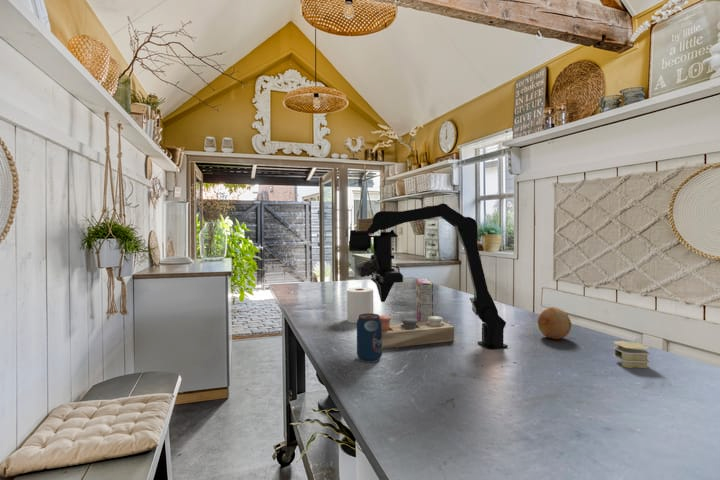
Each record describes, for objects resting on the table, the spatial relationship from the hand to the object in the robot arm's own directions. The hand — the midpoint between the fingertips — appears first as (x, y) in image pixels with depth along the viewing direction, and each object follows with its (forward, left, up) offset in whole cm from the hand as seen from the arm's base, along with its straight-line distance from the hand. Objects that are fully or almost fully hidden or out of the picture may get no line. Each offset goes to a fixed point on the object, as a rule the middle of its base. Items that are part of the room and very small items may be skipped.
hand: (382, 301), depth 121 cm
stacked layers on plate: (-38, -55, -14) cm, 68 cm away
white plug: (0, -18, -12) cm, 22 cm away
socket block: (0, -9, -13) cm, 16 cm away
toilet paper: (+30, -2, -13) cm, 33 cm away
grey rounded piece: (0, -9, -12) cm, 15 cm away
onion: (-13, -54, -13) cm, 57 cm away
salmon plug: (0, 0, -11) cm, 11 cm away
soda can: (-12, +8, -13) cm, 20 cm away
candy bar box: (+15, -22, -13) cm, 29 cm away
